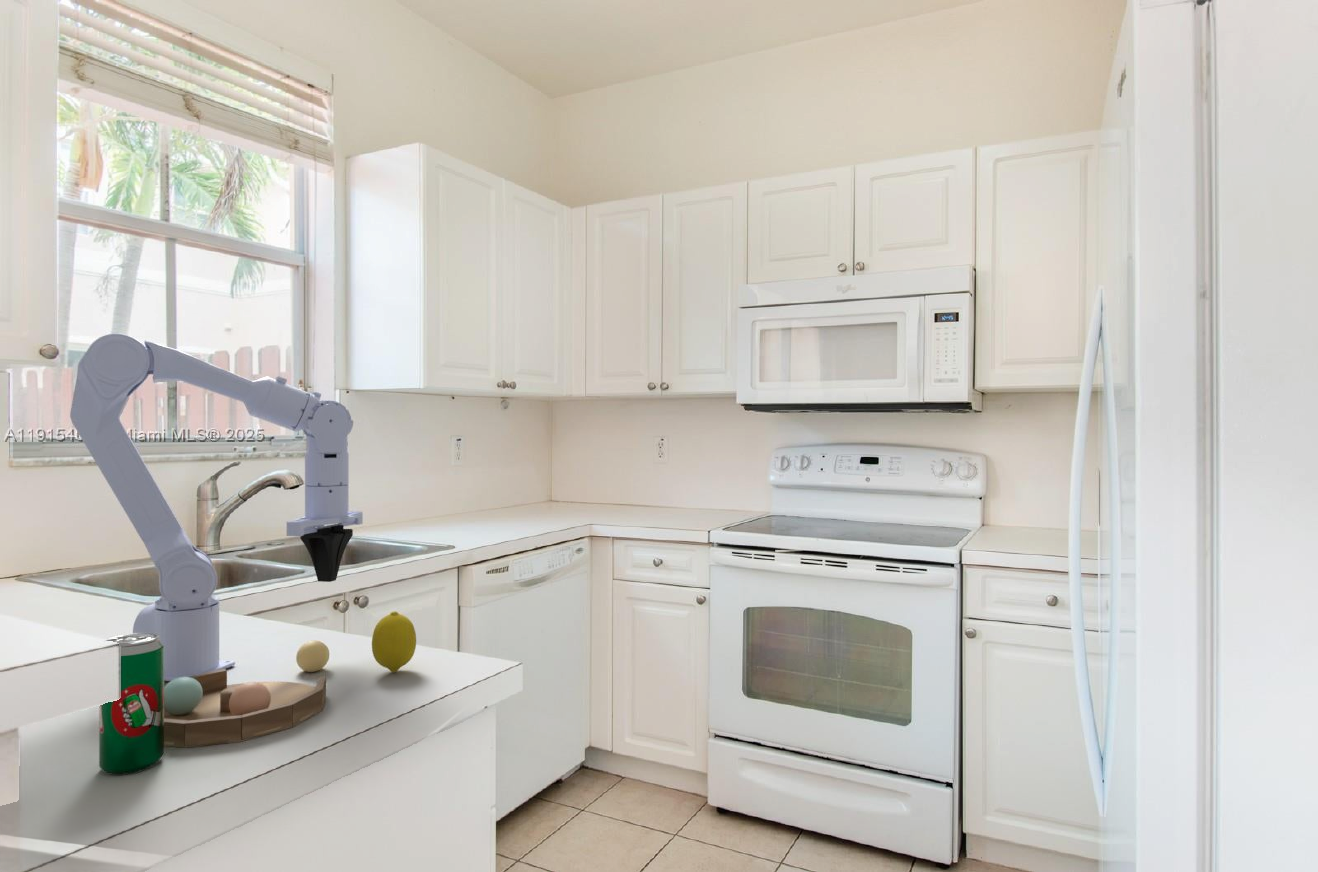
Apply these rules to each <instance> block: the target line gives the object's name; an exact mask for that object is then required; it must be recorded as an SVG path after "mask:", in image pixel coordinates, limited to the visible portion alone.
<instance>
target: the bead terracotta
mask: <svg viewBox="0 0 1318 872" xmlns="http://www.w3.org/2000/svg"><path fill="white" fill-rule="evenodd" d="M259 682H260V681H248V682H243V683H244V684H242V683H241V684H242V685H240V686H239V687H237V688H236V689H235V690H234V692H233V693H232V695H231V697H230V700H229V708H230V711H231V713H232V715H233V716H238V715H244V714H248V713H252V712H255V711H259V710H263V709H267V708H268V707H269V705H270V701H271V695H270V692H269V690H268V688H267V687H266V686H265V685H263V684H261V683H259Z"/></svg>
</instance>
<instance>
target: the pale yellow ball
mask: <svg viewBox="0 0 1318 872" xmlns="http://www.w3.org/2000/svg"><path fill="white" fill-rule="evenodd" d="M295 659H296V660H295V661H296V664H297V666H298V667H299V668H300V669H301V670H302V671H304V672H308V673H314V672H318V671H320V670H322V669H323V668H324V667H325V666H326V665H327V664H328V662H329V659H330V649H329V648H328V645H326V644H325V643H324V642H322V641H320V640H310V641H307V642H304V643H303V644H302V645H300V647H299V648H298V650H297V651H296V656H295Z"/></svg>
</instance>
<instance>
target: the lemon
mask: <svg viewBox="0 0 1318 872" xmlns="http://www.w3.org/2000/svg"><path fill="white" fill-rule="evenodd" d="M414 626H415V625H414V624H413V622H412V621H411V620H410V618H408V617H407V616H405V615H403V614H402V613H401V614H400V613H399V612H397V611H391V612H390V613H389V614H387V615H386V616H384V617H382V618H381V619H380V620H379V621H378V622H377V624H376V625H375V628H373V632H372V638H371V649H372V655H373V657H374V659H375V662H376V663H378V665H380V666H381V667H383V668H386V669H387V670H389V671H390V672H391V673H397V672H398V670H400V669H401V668H402V667H404V666H405V665H407V664H408V663H409V662H410V661H411V660H412V659H413V656H414V654H415V652H416V647H417V634H416V629H415V627H414Z"/></svg>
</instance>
